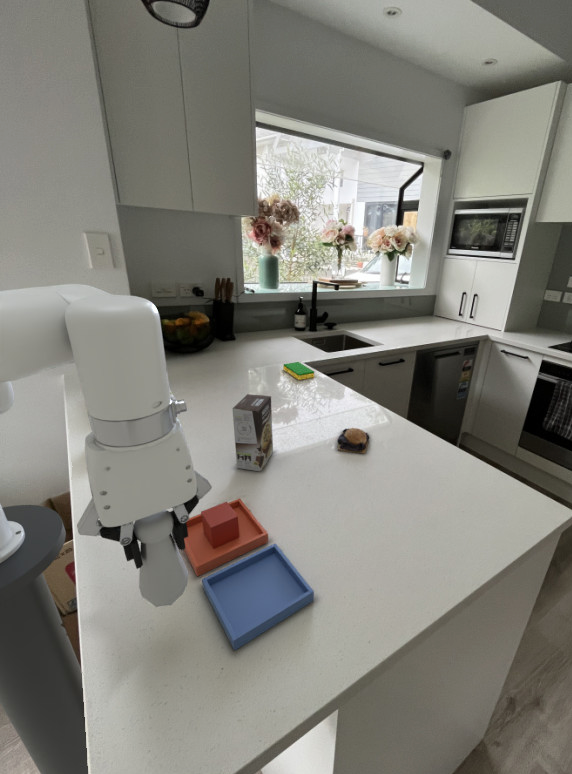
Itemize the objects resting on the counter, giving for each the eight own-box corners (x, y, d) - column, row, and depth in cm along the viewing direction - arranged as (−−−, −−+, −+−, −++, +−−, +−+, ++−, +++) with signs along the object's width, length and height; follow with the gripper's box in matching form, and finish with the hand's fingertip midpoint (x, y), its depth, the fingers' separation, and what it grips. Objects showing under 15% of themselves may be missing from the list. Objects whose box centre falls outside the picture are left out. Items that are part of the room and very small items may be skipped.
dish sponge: (298, 366, 159) (298, 361, 158) (314, 377, 149) (314, 371, 148) (283, 369, 156) (282, 363, 155) (298, 380, 145) (298, 374, 144)
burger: (341, 431, 110) (342, 420, 108) (370, 435, 108) (371, 424, 107) (334, 450, 100) (335, 438, 98) (366, 454, 99) (367, 442, 97)
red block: (213, 549, 67) (210, 527, 65) (203, 532, 71) (200, 511, 69) (239, 537, 70) (237, 516, 68) (229, 521, 74) (226, 501, 71)
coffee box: (261, 472, 90) (258, 411, 83) (236, 468, 91) (230, 408, 84) (274, 452, 98) (272, 395, 91) (250, 449, 99) (247, 392, 92)
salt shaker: (199, 586, 51) (189, 511, 45) (164, 621, 46) (148, 542, 41) (169, 568, 53) (156, 494, 48) (132, 600, 48) (113, 522, 43)
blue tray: (234, 650, 52) (233, 641, 51) (203, 588, 60) (201, 579, 60) (313, 600, 59) (313, 591, 58) (275, 551, 68) (275, 542, 67)
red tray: (197, 576, 62) (195, 567, 62) (175, 532, 71) (173, 524, 70) (268, 542, 70) (267, 533, 69) (240, 506, 79) (239, 498, 78)
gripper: (202, 391, 46) (214, 508, 54) (30, 425, 37) (74, 561, 44) (226, 415, 41) (235, 541, 49) (33, 462, 31) (82, 610, 39)
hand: (158, 549), depth 46 cm, fingers closed on salt shaker, 4 cm apart
